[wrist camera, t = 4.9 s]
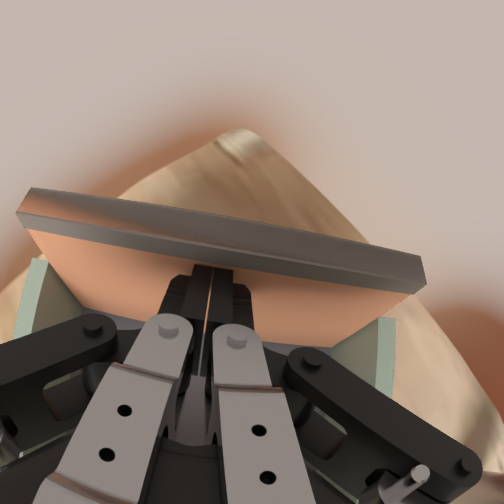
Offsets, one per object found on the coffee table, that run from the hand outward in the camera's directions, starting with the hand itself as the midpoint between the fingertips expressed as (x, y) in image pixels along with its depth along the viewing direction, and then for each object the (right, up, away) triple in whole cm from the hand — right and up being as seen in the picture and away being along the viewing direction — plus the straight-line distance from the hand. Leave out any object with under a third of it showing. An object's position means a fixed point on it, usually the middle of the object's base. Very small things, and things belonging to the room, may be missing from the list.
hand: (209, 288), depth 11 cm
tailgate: (-1, -3, +7) cm, 8 cm away
